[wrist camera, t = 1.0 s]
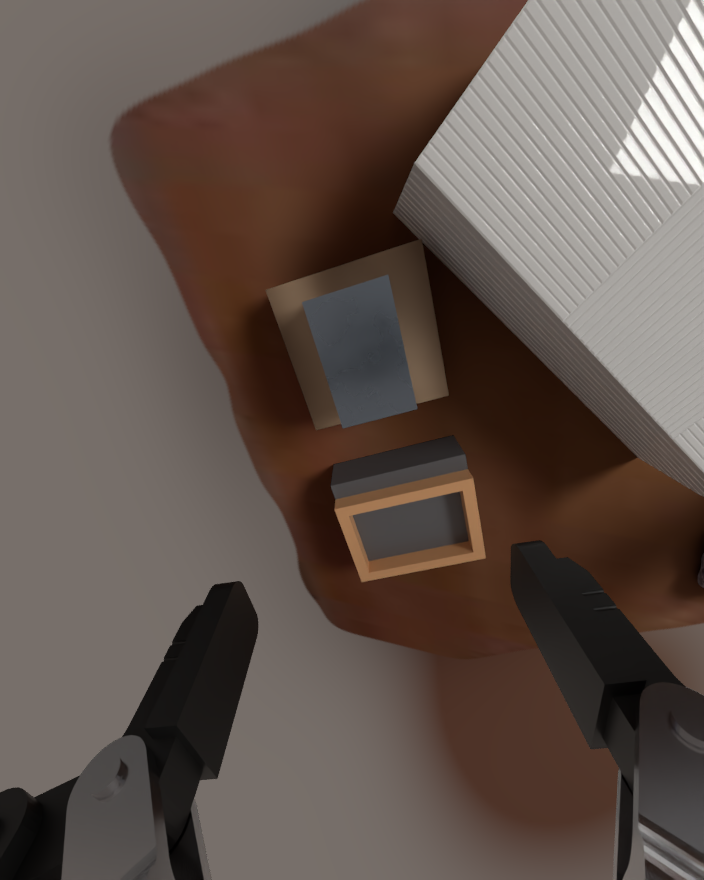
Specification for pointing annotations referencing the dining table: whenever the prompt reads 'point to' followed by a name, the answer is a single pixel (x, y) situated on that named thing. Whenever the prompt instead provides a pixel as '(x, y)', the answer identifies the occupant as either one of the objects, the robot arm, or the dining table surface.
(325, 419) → the walnut stand
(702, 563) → the crystal cluster
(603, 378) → the long white block
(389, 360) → the block
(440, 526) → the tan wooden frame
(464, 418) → the dining table surface
